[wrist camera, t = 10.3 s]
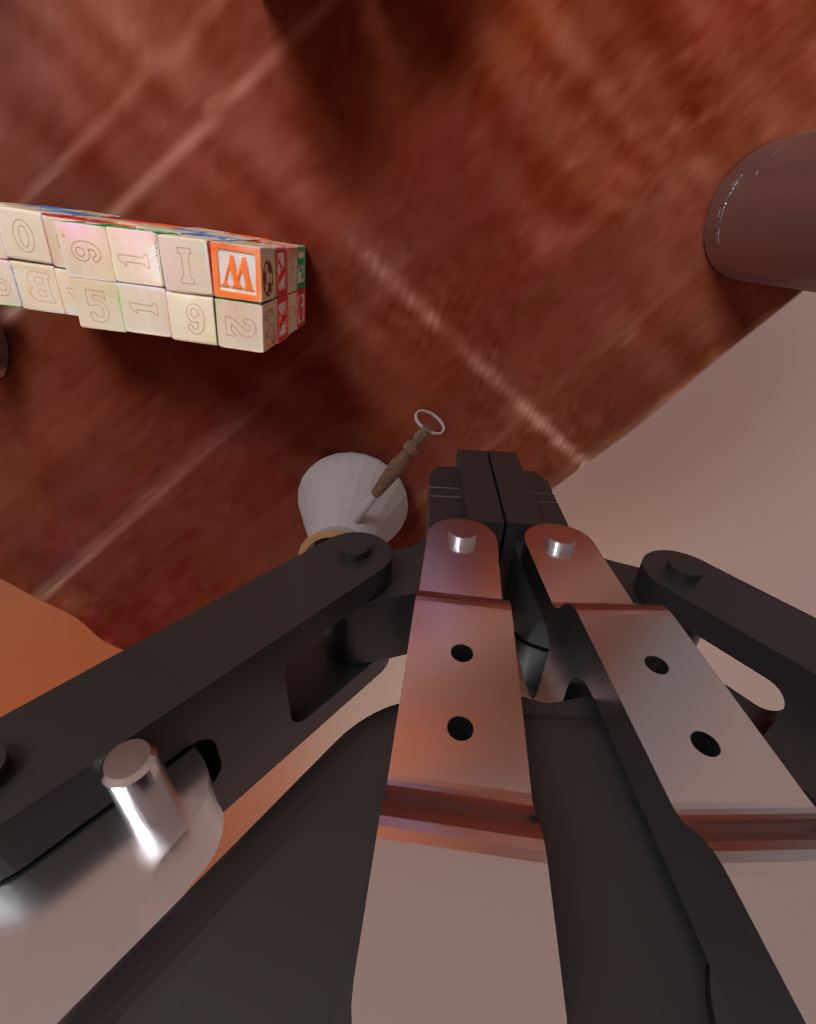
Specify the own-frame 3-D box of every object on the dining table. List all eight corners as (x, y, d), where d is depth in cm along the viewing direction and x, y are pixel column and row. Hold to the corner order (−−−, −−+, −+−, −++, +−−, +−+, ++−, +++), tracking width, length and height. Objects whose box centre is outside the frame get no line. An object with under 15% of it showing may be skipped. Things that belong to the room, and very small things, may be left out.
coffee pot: (378, 549, 53) (360, 648, 40) (288, 504, 51) (239, 595, 38) (483, 397, 43) (505, 464, 30) (378, 331, 41) (354, 376, 28)
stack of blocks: (67, 288, 40) (-63, 307, 30) (46, 204, 37) (-107, 191, 26) (307, 324, 41) (264, 355, 30) (308, 244, 37) (260, 247, 27)
